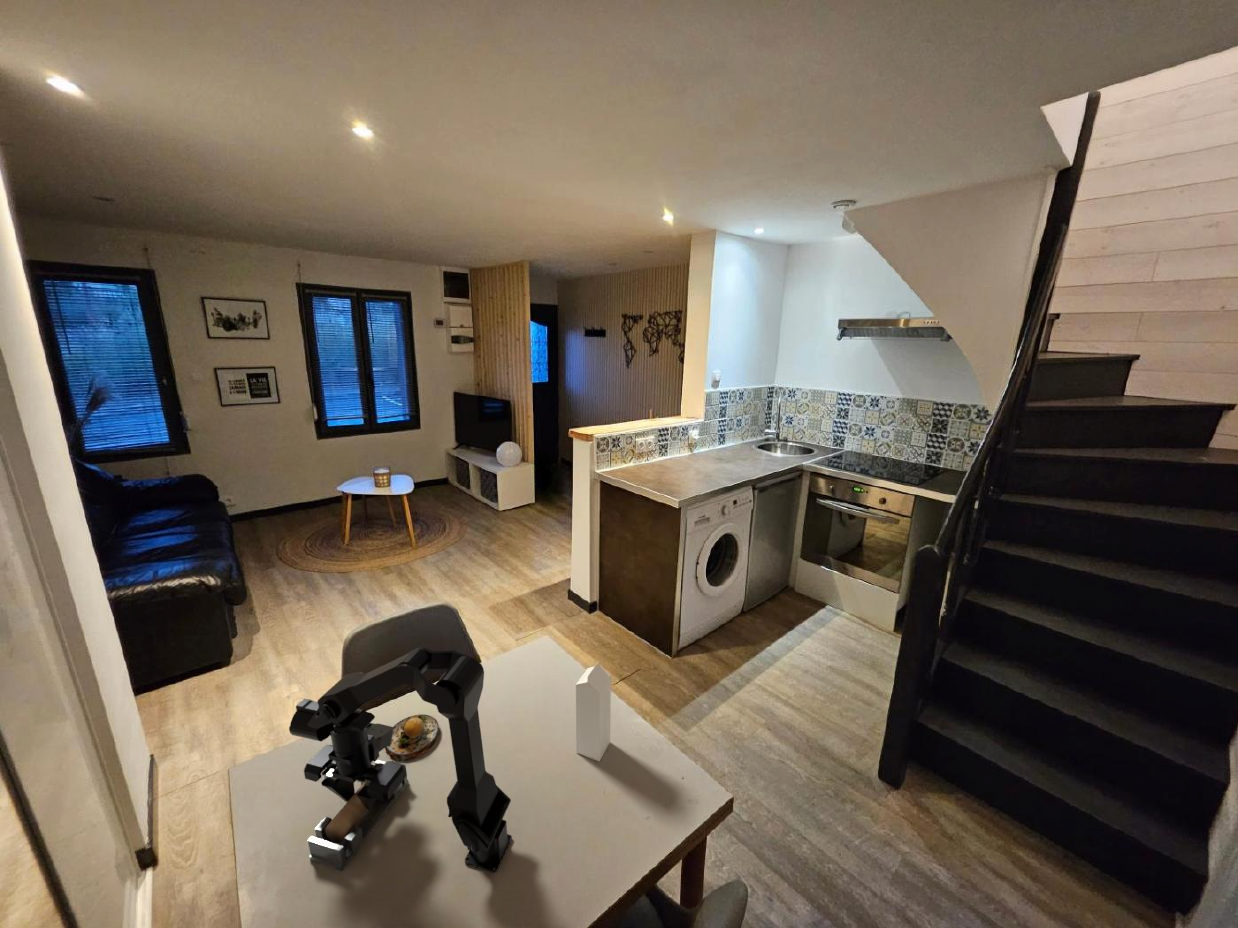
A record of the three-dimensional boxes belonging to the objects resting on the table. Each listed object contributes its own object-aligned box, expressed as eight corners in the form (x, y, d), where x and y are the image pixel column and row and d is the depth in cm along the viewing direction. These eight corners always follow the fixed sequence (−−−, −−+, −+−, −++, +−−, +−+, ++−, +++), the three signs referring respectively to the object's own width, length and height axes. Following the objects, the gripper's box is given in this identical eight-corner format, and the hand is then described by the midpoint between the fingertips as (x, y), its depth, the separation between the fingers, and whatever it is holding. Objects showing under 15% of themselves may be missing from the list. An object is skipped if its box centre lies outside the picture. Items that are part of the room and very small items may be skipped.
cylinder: (377, 777, 100) (375, 763, 99) (393, 782, 99) (391, 767, 98) (326, 839, 88) (323, 823, 87) (344, 845, 87) (341, 829, 86)
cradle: (410, 782, 102) (408, 766, 100) (344, 871, 85) (340, 853, 84) (378, 774, 103) (376, 757, 102) (307, 859, 87) (303, 841, 85)
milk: (610, 742, 113) (612, 663, 107) (599, 762, 107) (600, 680, 101) (587, 733, 115) (588, 655, 109) (575, 752, 110) (575, 672, 104)
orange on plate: (431, 712, 121) (429, 688, 119) (446, 744, 112) (443, 718, 110) (380, 734, 114) (376, 709, 112) (391, 770, 105) (387, 743, 103)
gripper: (421, 718, 94) (428, 780, 98) (343, 699, 99) (353, 759, 103) (380, 766, 84) (391, 832, 88) (295, 743, 88) (309, 807, 92)
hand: (361, 804), depth 93 cm, fingers closed on cylinder, 4 cm apart
